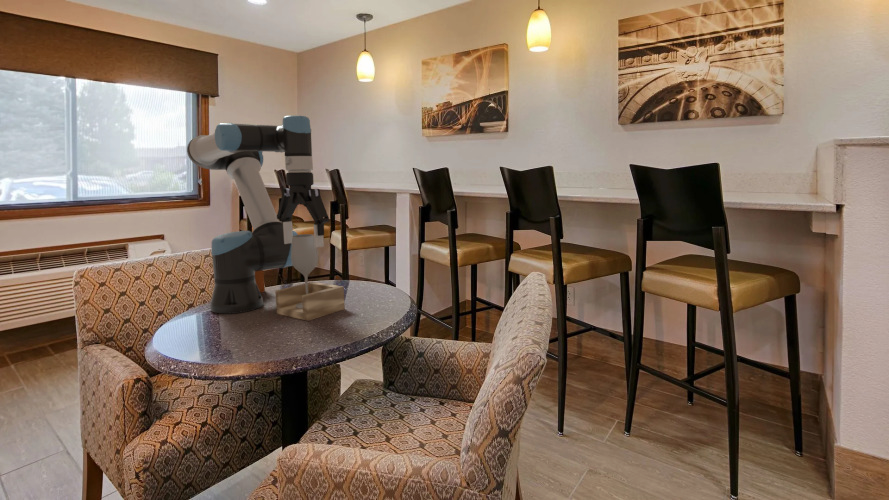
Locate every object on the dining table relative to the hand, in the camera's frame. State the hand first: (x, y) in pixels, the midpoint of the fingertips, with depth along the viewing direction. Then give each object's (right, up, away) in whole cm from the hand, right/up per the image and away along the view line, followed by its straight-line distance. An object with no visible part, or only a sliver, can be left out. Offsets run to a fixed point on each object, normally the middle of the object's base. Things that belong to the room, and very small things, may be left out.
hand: (303, 245), depth 147 cm
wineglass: (+1, -18, +3) cm, 18 cm away
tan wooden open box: (+1, -20, +4) cm, 20 cm away
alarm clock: (-28, -17, +26) cm, 42 cm away
